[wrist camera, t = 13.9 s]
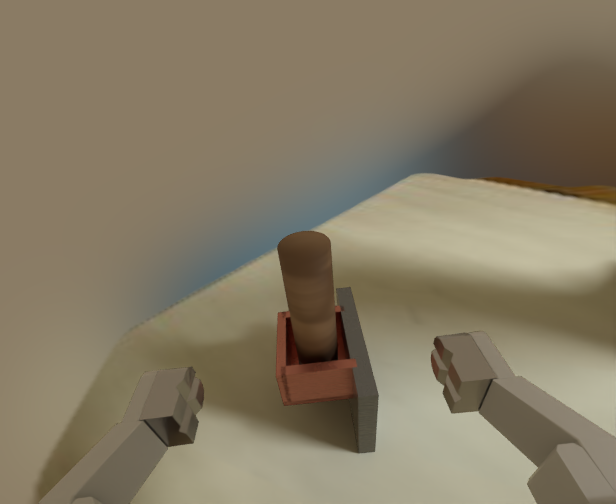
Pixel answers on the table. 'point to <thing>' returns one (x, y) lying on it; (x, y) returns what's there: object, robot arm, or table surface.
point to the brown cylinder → (310, 294)
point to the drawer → (332, 371)
